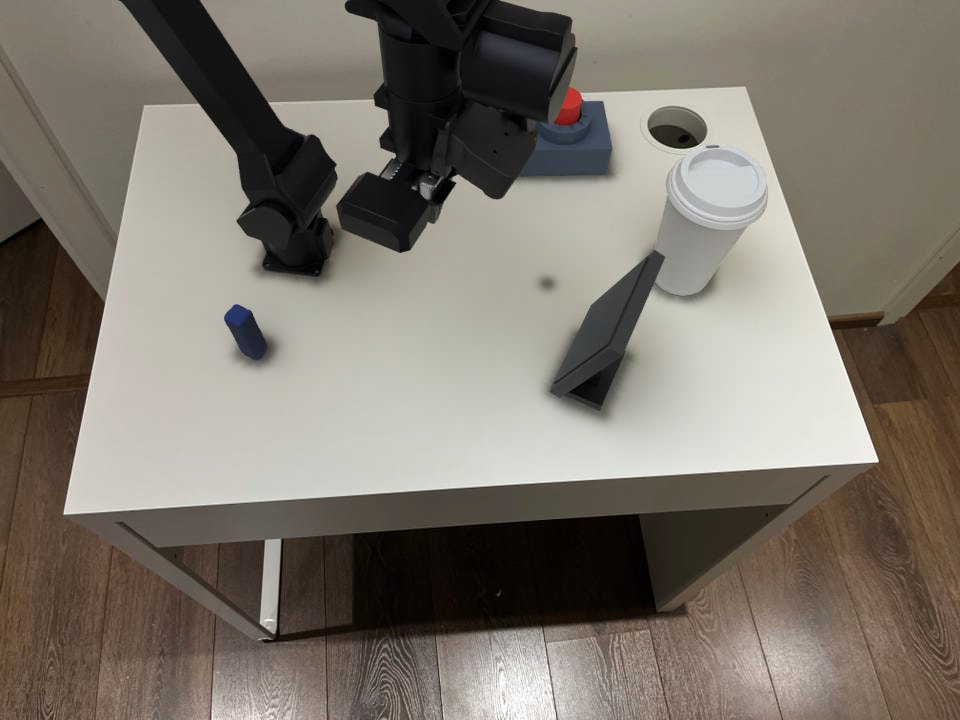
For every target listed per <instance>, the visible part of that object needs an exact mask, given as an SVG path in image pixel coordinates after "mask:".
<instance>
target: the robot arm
mask: <svg viewBox="0 0 960 720" xmlns="http://www.w3.org/2000/svg"><path fill="white" fill-rule="evenodd" d="M118 1H119V2H120V3H122V4H123V6H124V7H125V8H126V9H127V10H128V12H129V13H130V14H131V16H132V17H133V18H134V20H135V21H136V22H137V23H138V25H139V26H140V27H141V29H142V30H143V32H144V33H145V34H146V36H147V37H148V38H149V40H150V41H151V42H152V43H153V45H154V46H155V48H156V49H157V50H158V52H159V53H160V54H161V56H162V57H163V58H164V59H165V61H166V63H167V64H168V65H169V66H170V68H171V69H172V70H173V71H174V73H175V74H176V76H177V77H178V78H179V80H180V81H181V82H182V83H183V85H184V87H186V89H187V90H188V91H189V93H190V94H191V95H192V97H193V98H194V100H195V101H196V102H197V104H198V105H199V106H200V107H201V109H202V110H203V111H204V112H205V114H206V116H207V117H208V119H210V121H211V122H212V123H213V125H214V126H215V127H216V129H217V130H218V132H219V133H220V134H221V135H222V137H223V138H224V139H225V141H226V142H227V144H228V145H229V146H230V147H231V149H232V150H233V152H234V153H235V155H236V159H237V166H238V173H239V181H240V187H241V190H242V191H243V193H244V195H245V196H246V198H247V200H248V201H249V203H248V204H247V206H246V207H245V208H244V209H243V211H242V213H241V214H240V215H239V216H238V218H237V219H236V220H235V221H236V224H237V225H238V226H239V227H240V229H241V230H242V231H243V233H244V234H245V235H246V236H247V237H250V238H253V239H255V240H258V241H261V243H262V246H263V249H264V252H265V255H264V257H263V260H262V262H261V266H262V268H263V270H265V271H269V272H275V273H276V272H277V273H285V274H292V275H299V276H307V277H315V278H318V277H320V276H321V275H322V274H323V270H324V268H325V264H326V261H328V260H329V258H330V255H331V253H332V249H333V246H334V235H335V232H334V229H333V228H332V227H331V226H330V221H329V219H328V218H327V217H324V215H323V214H324V213H323V211H322V207H323V205H324V204H325V203H326V201H327V200H328V198H329V197H330V195H331V194H332V192H334V189H335V188H336V185H337V181H338V179H339V178H338V173H337V171H336V167H337V166H338V164H337V162H336V161H335V160H333V158H331V156H330V154H329V153H328V152H327V151H326V150H325V149H326V148H324V145H323V143H322V141H321V139H320V138H319V136H317V135H316V134H313V133H310V134H307V135H305V134H303V133H300V132H299V131H296V130H294V129H292V128H290V127H288V126H286V125H285V124H284V123H283V122H282V120H280V118H279V117H278V115H277V113H276V112H275V111H274V109H273V108H272V106H271V105H270V103H269V101H268V100H267V99H266V97H265V95H264V94H263V93H262V91H261V89H260V88H259V86H258V85H257V83H256V82H255V80H254V79H253V77H252V76H251V74H250V73H249V71H248V70H247V69H246V66H245V65H244V64H243V62H242V60H241V59H240V58H239V56H238V55H237V54H236V52H235V50H234V49H233V47H232V46H231V44H230V43H229V41H228V40H227V39H226V37H225V35H224V34H223V32H222V31H221V30H220V28H219V26H218V25H217V23H216V22H215V21H214V18H212V16H211V14H210V13H209V12H208V10H207V8H206V7H205V5H204V4H203V3H202V1H201V0H118ZM344 10H345V11H346V12H347V13H349V14H350V15H355V16H357V17H362V18H365V19H368V20H371V21H374V22H376V23H377V25H376V26H377V31H378V32H377V33H378V40H379V41H378V43H379V51H380V61H381V69H382V77H383V82H382V83H381V85H380V86H379V87H378V89H376V91H375V92H374V93H373V94H372V95H373V103H374V107H376V108H379V109H382V110H384V111H386V113H387V122H388V126H387V127H386V129H385V130H384V131H383V133H382V134H381V135H380V136H379V139H378V141H379V149H382V150H385V151H386V152H389V153H392V154H395V157H394V158H393V157H392V158H390V160H389V161H388V162H387V163H386V165H385V166H384V167H383V168H382V170H381V172H380V173H379V174H378V175H377V174H375V173H373V172H370V171H365V172H364V173H361V174H360V175H358V176H357V177H356V179H355V180H354V181H353V183H352V184H351V185H350V187H349V188H348V189H347V190H346V191H345V193H344V194H343V195H342V197H341V198H340V200H339V201H338V202H337V203H336V205H335V208H336V214H337V217H338V222H339V225H340V228H341V230H342V231H345V232H347V233H349V234H352V235H355V236H357V237H359V238H362V239H365V240H366V241H369V242H371V243H375V244H377V245H379V246H381V247H384V248H386V249H388V250H391V251H394V252H396V253H399V254H403V253H407V252H411V251H412V249H413V247H414V246H415V244H416V243H417V241H418V240H419V238H420V237H421V235H422V234H423V233H424V231H425V229H426V228H427V225H428V224H432V225H435V224H436V222H437V221H438V219H439V218H440V216H441V212H442V209H443V206H444V204H445V201H446V200H447V199H448V197H449V195H450V194H451V193H452V191H453V189H454V188H455V186H456V185H457V182H456V181H454V180H453V178H455V177H457V176H459V177H461V178H463V180H465V181H467V182H468V183H470V184H472V185H473V186H475V187H476V188H478V190H480V191H482V193H483V194H484V195H485V196H486V197H488V198H490V199H492V200H496V201H497V200H501V199H503V198H504V197H505V196H506V195H507V193H508V192H509V191H510V189H511V187H512V186H513V184H514V183H515V181H516V180H517V179H518V177H520V176H519V174H520V173H521V171H522V169H523V168H524V166H525V164H526V163H527V161H528V160H529V158H530V156H531V155H532V153H533V151H534V150H535V148H536V142H537V141H538V136H537V135H538V133H539V131H537V130H536V129H535V130H534V131H533V127H534V126H535V124H536V121H538V122H542V123H545V124H548V125H552V124H553V123H554V121H555V120H556V118H557V116H558V114H559V112H560V110H561V108H562V105H563V103H564V100H565V97H566V94H567V91H568V88H569V87H570V85H571V81H572V79H573V75H574V70H575V66H576V62H577V58H578V50H579V47H578V46H576V41H577V39H576V34H575V33H574V32H572V29H573V18H572V17H571V16H569V15H565V14H561V13H558V12H553V11H541V10H536V9H533V8H529V7H525V6H522V5H518V4H515V3H511V2H509V1H508V2H507V1H504V0H346V1H345V2H344Z"/></svg>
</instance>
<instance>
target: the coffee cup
mask: <svg viewBox="0 0 960 720" xmlns="http://www.w3.org/2000/svg"><path fill="white" fill-rule="evenodd" d="M665 189H666V194H667V196H666V199H665V204H664V209H663V212H662V216H661V220H660V224H659V228H658V231H657V236H656V240H655V244H654V247H653V251H654V250H656V251H658V252H659V253H661V254H662V255H664V256H665V260H664V262H663V264H662V266H661V269H660V271H659V273H658V276H657V278H656V280H655V282H654V284H656V285H657V286H658V287H659V288H660V289H662V290H663V291H665V292H666V293H668V294H671V295H675V296H682V297H683V296H691V295H695V294H697V293H699V292H701V291H702V290H703V289H704V288H705V287H706V286H707V284H708V283H709V282H710V280H711V279H712V277H713V276H714V274H715V273H716V272H717V270H718V269H719V268H720V265H721V264H722V263H723V262H724V260H725V259H726V258H727V256H728V254H730V252H731V250H732V249H733V248H734V246H735V245H736V243H737V242H738V241H739V239H740V238H741V236H742V235H743V234H744V232H746V229H747V228H748V227H749V226H750V225H752V224H754V223H756V222H757V221H758V220H759V219H760V218H761V217H762V216H763V214H764V213H765V211H766V208H767V206H768V201H769V187H768V179H767V174H766V172H765V170H764V168H763V166H762V165H761V163H760V162H759V161H758V160H757V159H756V158H755V157H754V156H753V155H751V154H750V153H748V152H747V151H745V150H743V149H741V148H739V147H737V146H736V147H735V146H732V145H729V144H724V143H723V144H722V143H708V144H704V145H703V144H702V145H699V146H697V147H695V148H694V149H691V150H690V151H689V152H688V153H687V154H685V155H683V156H682V157H680V158H679V159H678V160H677V161H676V162H675V163H674V165H673V166H672V167H671V168H670V170H669V172H668V173H667V176H666V179H665Z"/></svg>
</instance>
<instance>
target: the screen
mask: <svg viewBox="0 0 960 720" xmlns="http://www.w3.org/2000/svg"><path fill="white" fill-rule="evenodd" d="M664 260H665V256H664V255H662V254H661V253H659V252H658V251H656V250H654V249H653V250H652V251H651V252H650V253H649V254H648V255H647V256H645V257H644V258H643V259H642V260H641V261H640V262H639V263H638V264H636V265H635V266H634V267H633V268H631V269H630V271H628V272H627V273H625V275H624V276H622V277H621V278H620V279H619V280H618V281H616V282H615V284H613V285H612V286H611V287H610V288H609V289H607V290H606V291H605V292H604V293H603V294H602V295H601V296H599V297H598V298H597V299H595V301H594V302H592V303H591V304H590V305H589V308H588V310H587V312H586V314H585V316H584V318H583V320H582V323H580V324H581V325H580V327H579V329H578V331H577V333H576V334H575V337H574V339H573V341H572V342H571V345H570V347H569V349H568V351H567V354H566V356H565V357H564V359H563V362H562V364H561V366H560V368H559V370H558V371H557V374H556V376H555V379H554V380H553V383H552V385H551V387H550V389H549V390H548V391H549V394H552V395H554V396H555V397H556V398H558V399H561V398H562V397H563V396H564V395H565V394H566V393H568V392H569V391H571V390H572V389H574V388H575V387H577V386H578V385H580V384H581V383H583V382H584V381H586V380H587V379H589V378H590V377H592V376H593V375H594V374H596V373H597V372H599V371H600V370H602V369H603V368H605V367H606V366H608V365H609V364H611V363H612V362H614V361H615V360H617V359H618V358H620V357H621V356H623V354H624V351H626V349H627V346H628V344H629V342H630V339H631V337H632V335H633V333H634V330H635V328H636V326H637V323H638V321H639V319H640V317H641V314H642V312H643V310H644V308H645V305H646V303H647V300H648V298H649V296H650V295H651V291H652V290H653V286H654V284H655V280H656V278H657V276H658V273H659V271H660V269H661V266H662V264H663V262H664ZM624 355H625V354H624Z"/></svg>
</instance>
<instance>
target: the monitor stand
mask: <svg viewBox="0 0 960 720" xmlns="http://www.w3.org/2000/svg"><path fill="white" fill-rule="evenodd" d="M626 352H627V351H626V350H625V351H624V354H623V356H621V357H620V358H618V359H617V360H615V361H614V362H612V363H611V364H609V365H608V366H606V367H605V368H603V369H602V370H600V371H599V372H597V373H596V374H594V375H593V376H592V377H590V378H589V379H587V380H586V381H584V382H583V383H581V384H580V385H578V386H577V387H575V388H574V389H572V390H571V391H569V392H568V393H566V394H565V395H563V396H565V397H567V398H570V399H572V400H574V401H575V402H578V403H581V404H583V405H586V406H588V407H590V408H592V409H595V410H597V411H601V409H602V407H603V405H604V403H605V400H606V398H607V396H608V393H609V391H610V389H611V386H612V384H613V382H614V379H615V378H616V375H617V372H618V370H619V368H620V365H621V364H622V361H623V359H624V356H625V354H626Z"/></svg>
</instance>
